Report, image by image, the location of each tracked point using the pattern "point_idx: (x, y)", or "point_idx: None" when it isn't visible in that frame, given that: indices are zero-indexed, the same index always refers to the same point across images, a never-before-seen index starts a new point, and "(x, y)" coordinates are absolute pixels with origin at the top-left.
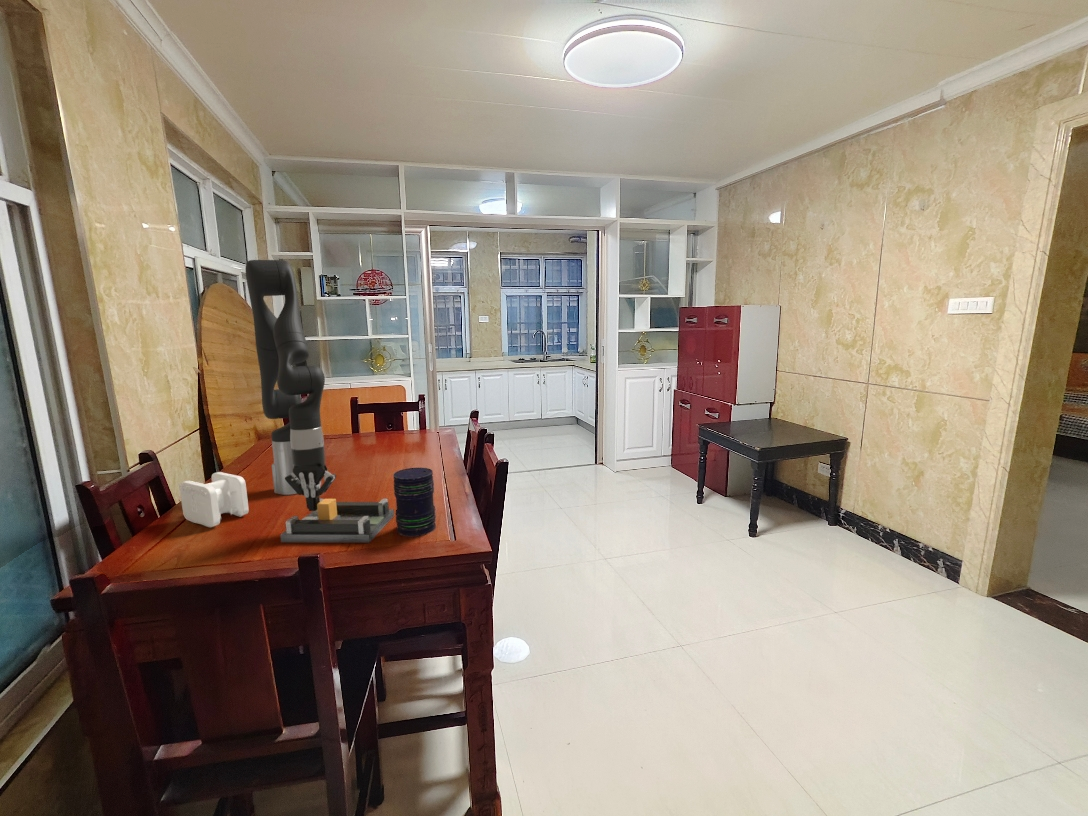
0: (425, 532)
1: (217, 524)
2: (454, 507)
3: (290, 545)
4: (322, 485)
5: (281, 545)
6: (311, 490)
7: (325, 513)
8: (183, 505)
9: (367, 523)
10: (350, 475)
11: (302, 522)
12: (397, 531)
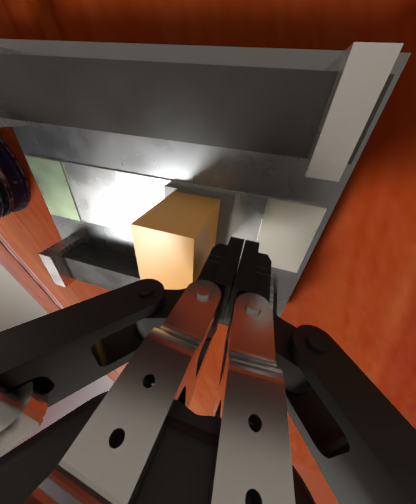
0: None
1: None
2: (15, 264)
3: (324, 8)
4: (68, 338)
5: (382, 7)
6: (198, 329)
7: (174, 206)
8: None
9: None
10: None
11: (262, 99)
12: (5, 146)
